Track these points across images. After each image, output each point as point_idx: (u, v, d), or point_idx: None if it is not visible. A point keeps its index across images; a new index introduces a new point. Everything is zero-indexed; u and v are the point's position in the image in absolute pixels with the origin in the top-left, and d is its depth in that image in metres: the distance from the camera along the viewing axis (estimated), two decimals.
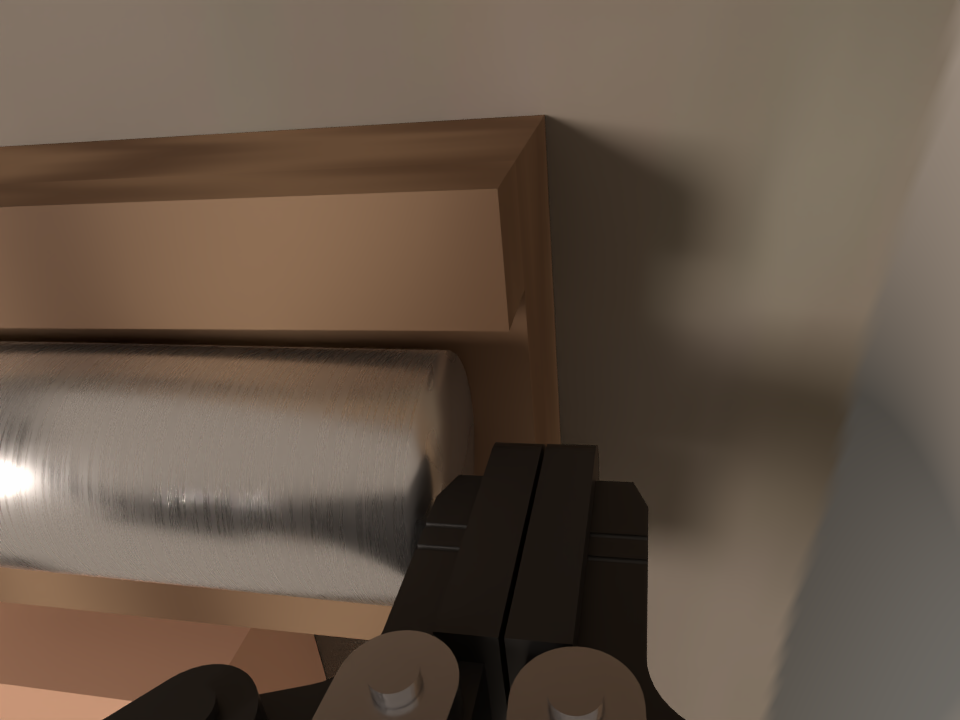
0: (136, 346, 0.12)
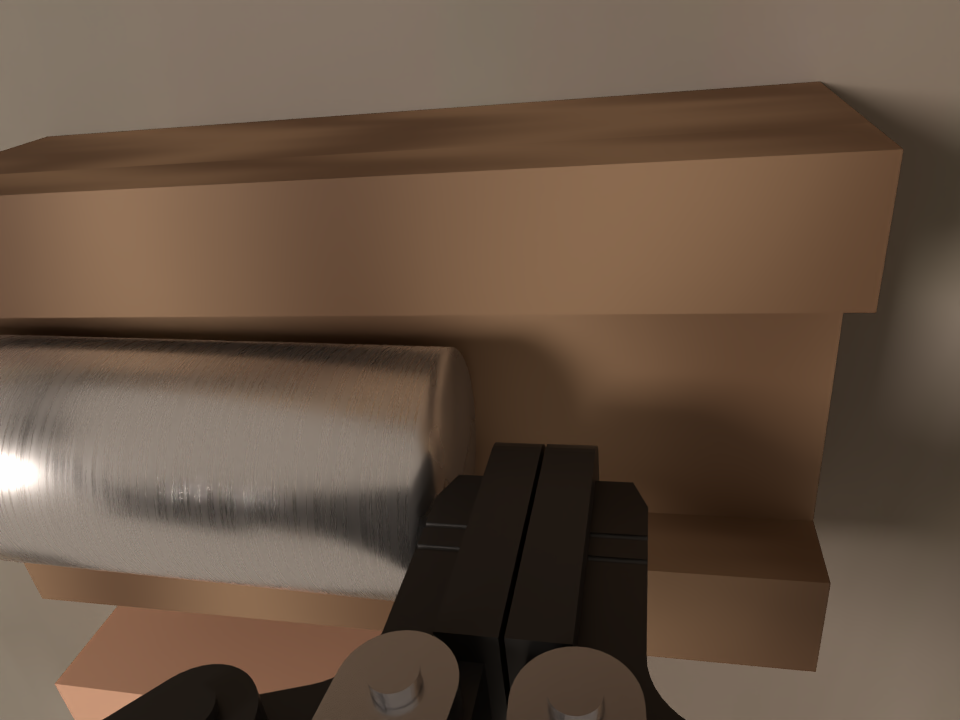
0: (139, 341, 0.12)
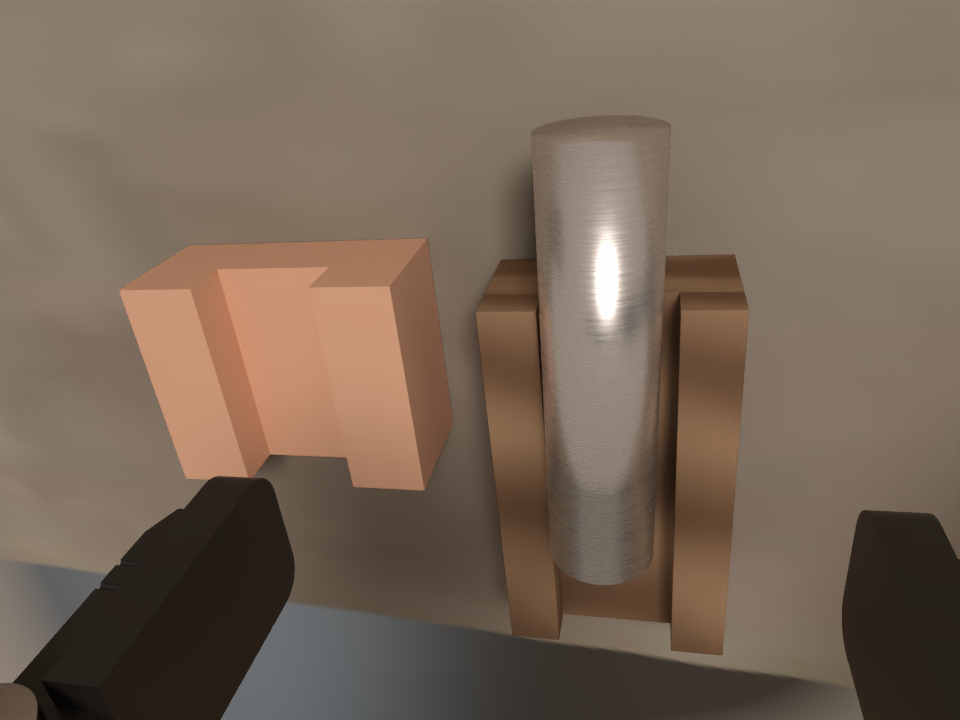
0: None
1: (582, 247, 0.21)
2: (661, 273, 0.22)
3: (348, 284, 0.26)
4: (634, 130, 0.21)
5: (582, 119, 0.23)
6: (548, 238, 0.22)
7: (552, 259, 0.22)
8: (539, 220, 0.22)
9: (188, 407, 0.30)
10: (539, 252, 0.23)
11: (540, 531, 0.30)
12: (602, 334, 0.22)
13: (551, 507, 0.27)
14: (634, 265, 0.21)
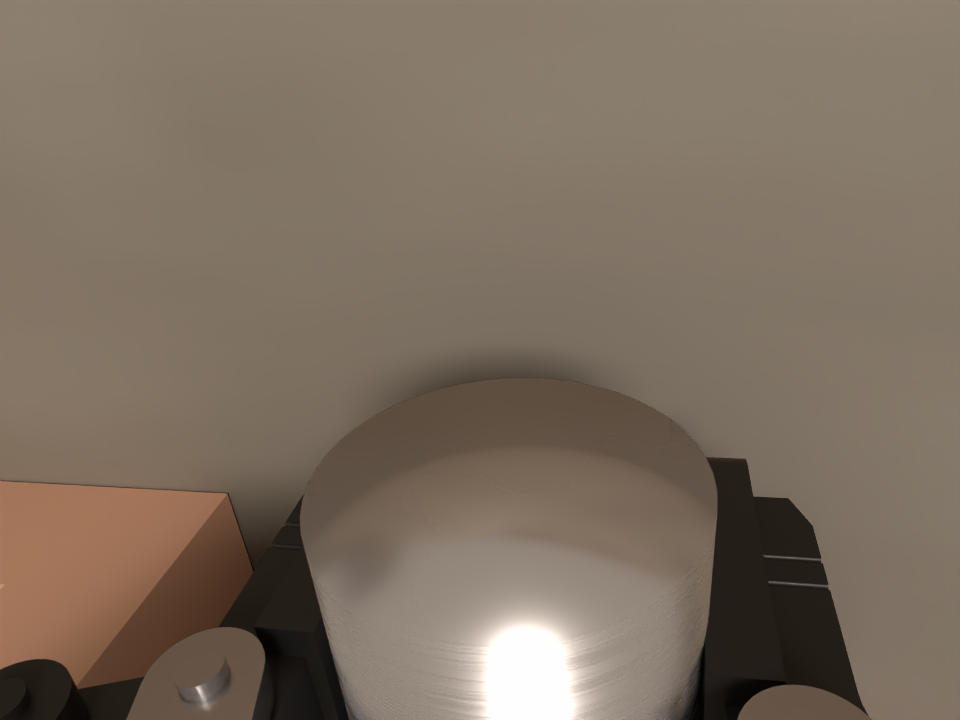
0: None
1: None
2: None
3: None
4: (607, 505, 0.07)
5: (465, 397, 0.09)
6: None
7: None
8: (348, 716, 0.08)
9: None
10: None
11: None
12: None
13: None
14: None
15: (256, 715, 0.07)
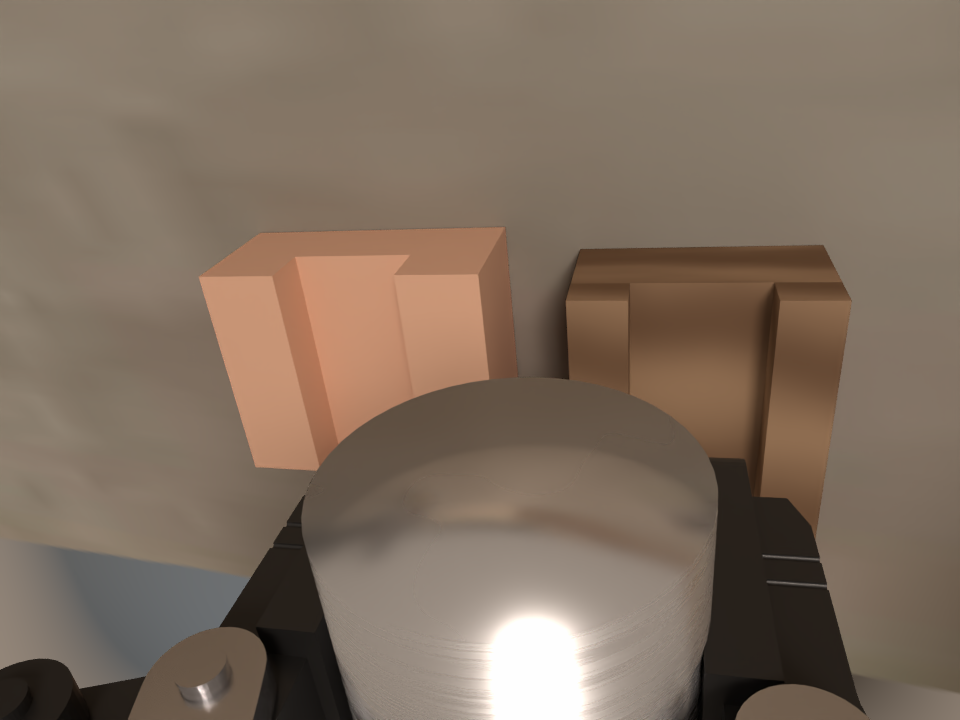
0: None
1: None
2: None
3: (434, 272, 0.26)
4: (607, 502, 0.07)
5: (465, 397, 0.09)
6: None
7: None
8: (352, 716, 0.08)
9: (263, 395, 0.30)
10: None
11: None
12: None
13: None
14: None
15: (258, 715, 0.07)
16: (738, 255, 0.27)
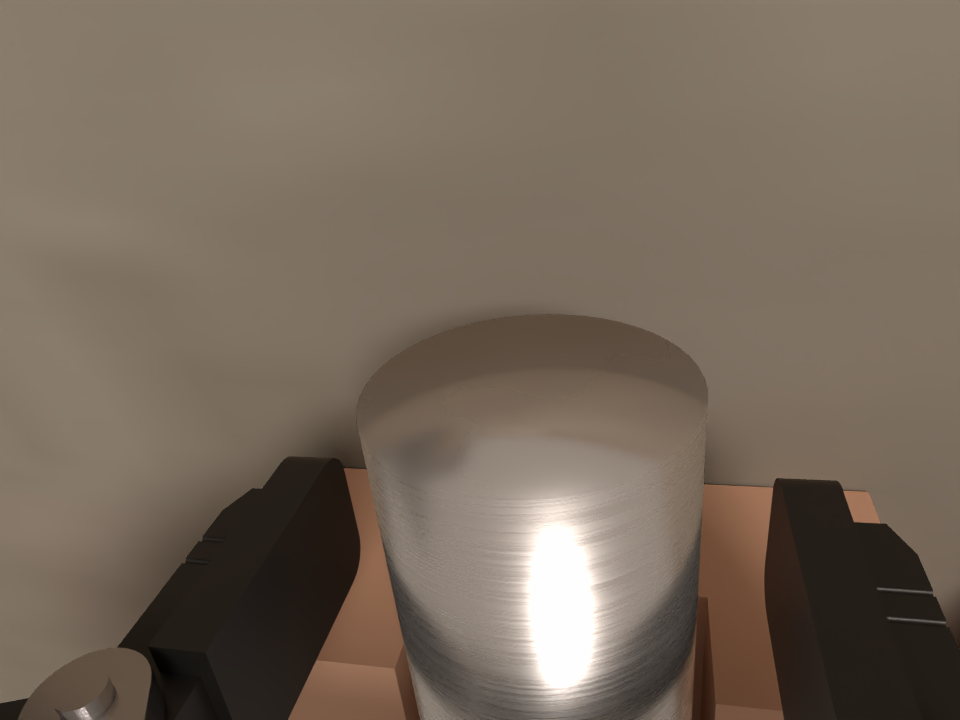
0: None
1: (498, 700, 0.08)
2: (690, 687, 0.10)
3: None
4: (615, 402, 0.08)
5: (488, 330, 0.10)
6: (417, 650, 0.09)
7: (432, 692, 0.09)
8: (395, 599, 0.09)
9: None
10: (405, 650, 0.10)
11: None
12: None
13: None
14: None
15: None
16: None
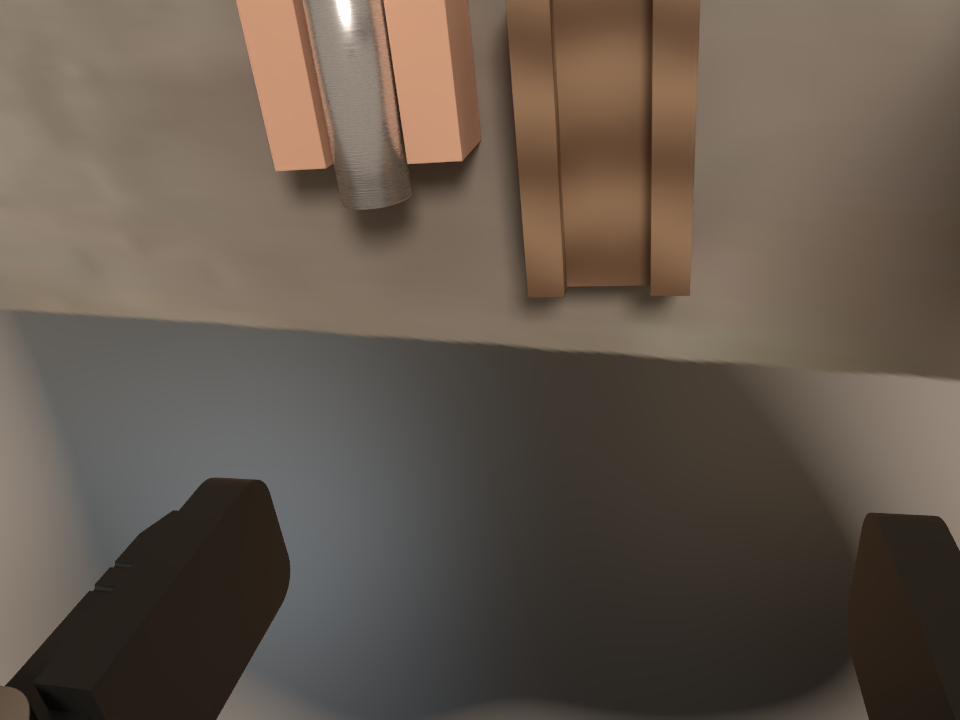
0: (397, 96, 0.39)
1: None
2: None
3: None
4: None
5: None
6: None
7: None
8: None
9: (282, 101, 0.40)
10: None
11: (550, 190, 0.39)
12: None
13: (334, 158, 0.40)
14: None
15: None
16: None
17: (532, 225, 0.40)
